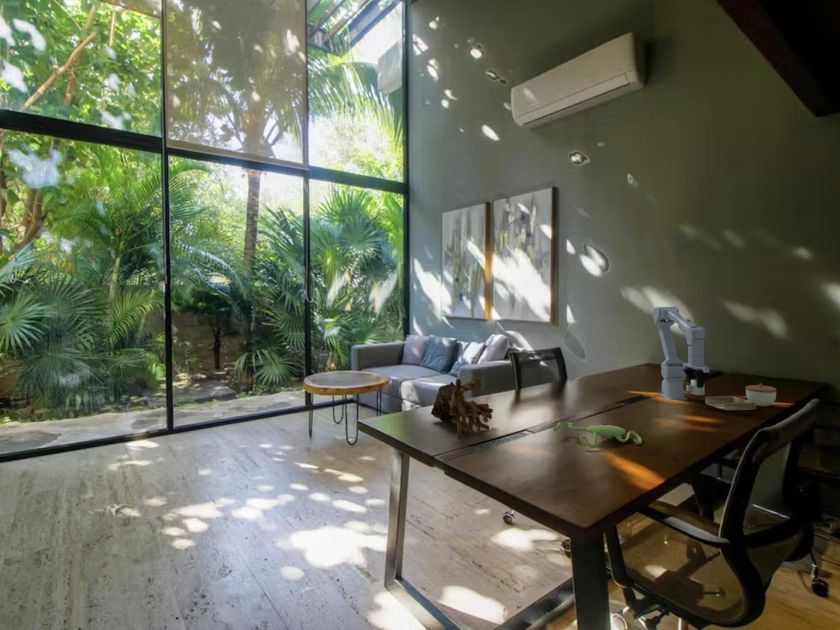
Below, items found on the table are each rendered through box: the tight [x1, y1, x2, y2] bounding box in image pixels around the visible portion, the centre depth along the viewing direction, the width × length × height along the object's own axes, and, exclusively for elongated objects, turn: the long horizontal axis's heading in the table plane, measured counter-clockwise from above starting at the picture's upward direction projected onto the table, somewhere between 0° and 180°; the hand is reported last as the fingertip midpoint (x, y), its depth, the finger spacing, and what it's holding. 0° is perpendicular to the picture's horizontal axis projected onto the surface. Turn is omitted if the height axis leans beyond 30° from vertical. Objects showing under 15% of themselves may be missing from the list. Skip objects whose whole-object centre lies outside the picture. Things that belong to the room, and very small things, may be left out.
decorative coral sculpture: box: [430, 378, 494, 438], centre depth 171 cm, size 26×23×30 cm
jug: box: [685, 379, 706, 396], centre depth 195 cm, size 5×7×6 cm
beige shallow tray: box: [704, 395, 757, 411], centre depth 194 cm, size 13×13×3 cm
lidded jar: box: [745, 383, 777, 407], centre depth 195 cm, size 11×11×9 cm
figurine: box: [552, 421, 643, 450], centre depth 154 cm, size 18×27×6 cm
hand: (695, 386), depth 195 cm, fingers closed on jug, 5 cm apart
